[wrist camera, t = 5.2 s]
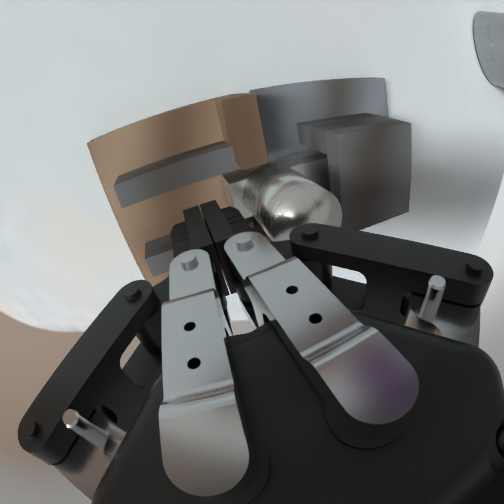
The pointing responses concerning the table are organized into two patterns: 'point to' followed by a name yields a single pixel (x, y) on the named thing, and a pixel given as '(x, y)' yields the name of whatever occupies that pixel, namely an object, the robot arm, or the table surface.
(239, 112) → the plate
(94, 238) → the table surface
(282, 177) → the steel bolt
